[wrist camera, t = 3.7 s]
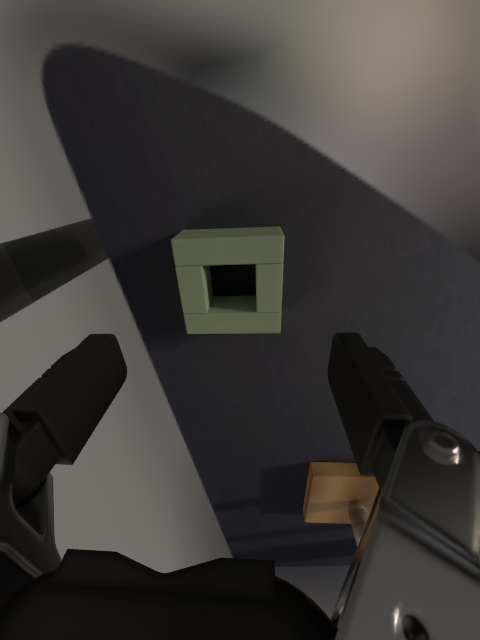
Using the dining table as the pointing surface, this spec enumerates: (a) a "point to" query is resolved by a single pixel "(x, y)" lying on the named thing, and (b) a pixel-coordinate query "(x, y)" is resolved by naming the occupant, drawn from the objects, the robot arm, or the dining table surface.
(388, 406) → the robot arm
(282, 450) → the dining table surface
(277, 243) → the green square ring block
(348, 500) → the base pad
